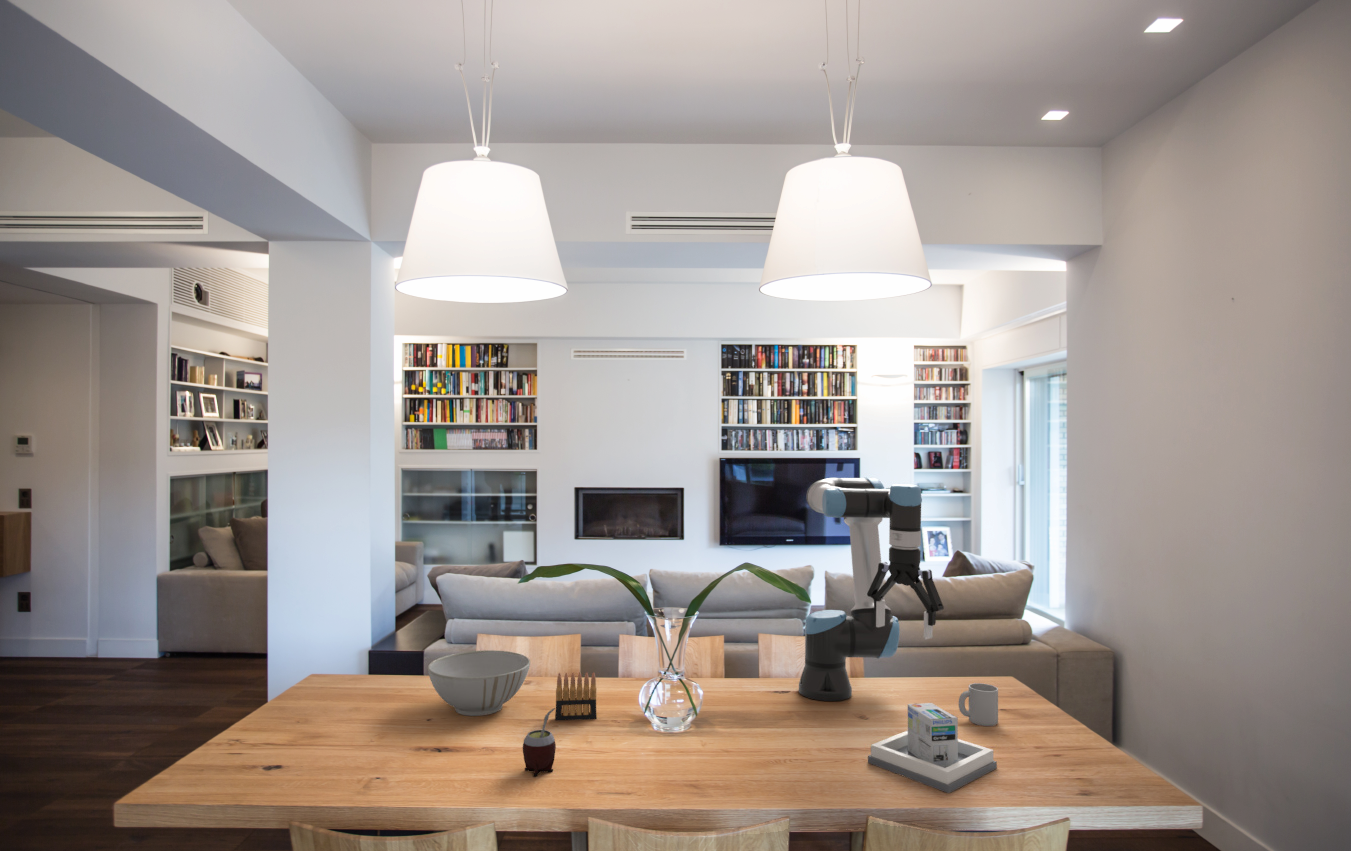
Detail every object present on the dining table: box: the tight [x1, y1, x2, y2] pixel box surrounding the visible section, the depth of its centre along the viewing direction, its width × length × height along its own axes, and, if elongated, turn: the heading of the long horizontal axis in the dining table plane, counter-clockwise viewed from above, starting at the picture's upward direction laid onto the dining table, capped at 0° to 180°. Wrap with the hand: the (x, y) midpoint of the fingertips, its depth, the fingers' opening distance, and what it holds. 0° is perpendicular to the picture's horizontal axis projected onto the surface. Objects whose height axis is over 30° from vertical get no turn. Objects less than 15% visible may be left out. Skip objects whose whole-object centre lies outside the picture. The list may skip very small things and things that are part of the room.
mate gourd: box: [522, 707, 557, 778], centre depth 169 cm, size 8×8×15 cm
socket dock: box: [867, 729, 998, 794], centre depth 174 cm, size 20×20×4 cm
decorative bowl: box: [427, 649, 531, 717], centre depth 209 cm, size 27×27×12 cm
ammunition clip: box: [554, 671, 598, 722], centre depth 202 cm, size 11×2×12 cm, turn 98°
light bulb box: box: [907, 702, 959, 767], centre depth 175 cm, size 11×7×11 cm, turn 13°
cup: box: [958, 682, 999, 727], centre depth 203 cm, size 7×10×9 cm
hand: (903, 632), depth 193 cm, fingers open, 13 cm apart
